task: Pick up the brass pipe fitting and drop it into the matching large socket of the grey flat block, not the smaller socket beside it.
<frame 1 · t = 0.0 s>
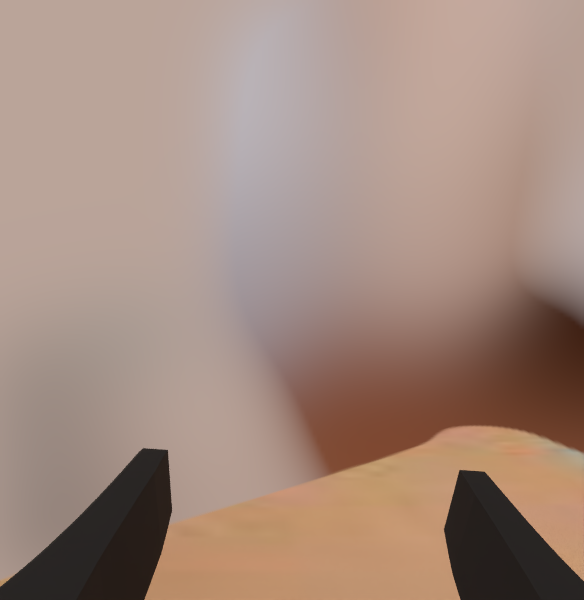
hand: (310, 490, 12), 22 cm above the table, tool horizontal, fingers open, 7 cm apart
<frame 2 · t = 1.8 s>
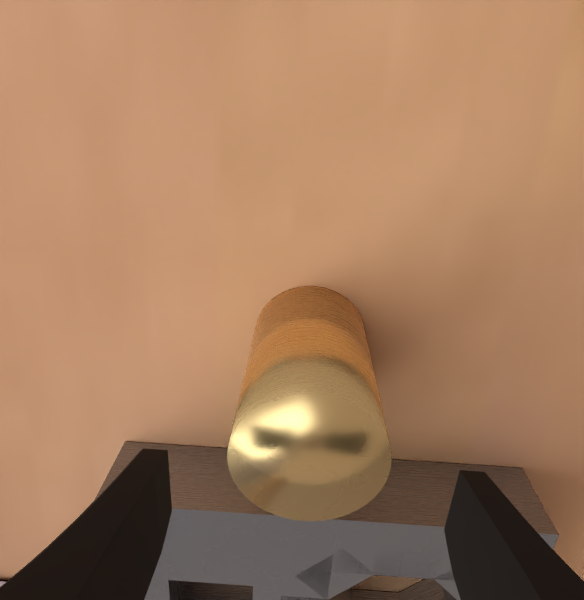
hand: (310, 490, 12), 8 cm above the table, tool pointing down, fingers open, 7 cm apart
grey flat block: (313, 546, 24), on the table
brass fitting: (309, 336, 19), on the table
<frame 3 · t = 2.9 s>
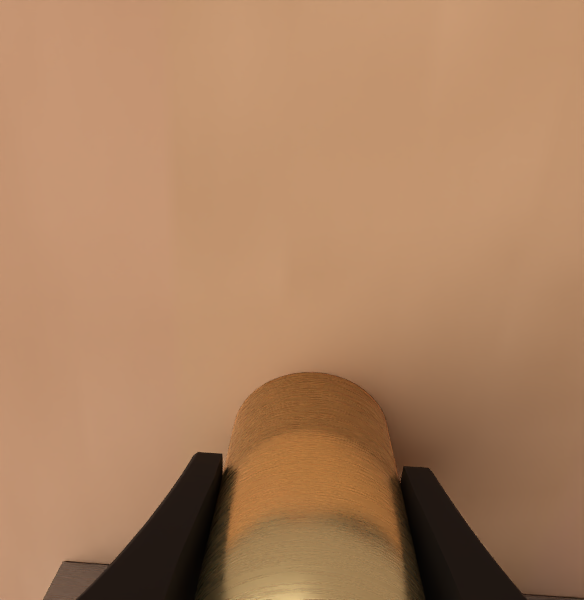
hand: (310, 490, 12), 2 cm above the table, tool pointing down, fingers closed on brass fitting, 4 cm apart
brass fitting: (310, 437, 14), on the table, touching gripper
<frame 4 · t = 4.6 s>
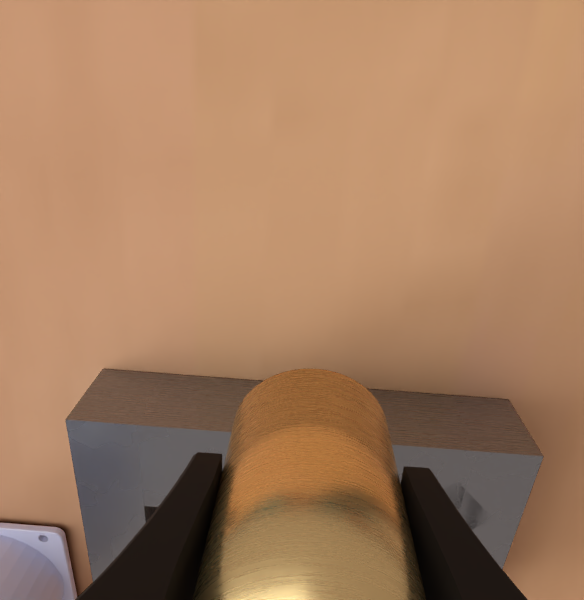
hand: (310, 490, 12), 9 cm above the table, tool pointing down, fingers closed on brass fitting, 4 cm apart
grey flat block: (295, 485, 24), on the table
brass fitting: (310, 434, 14), point 7 cm above the table, touching gripper
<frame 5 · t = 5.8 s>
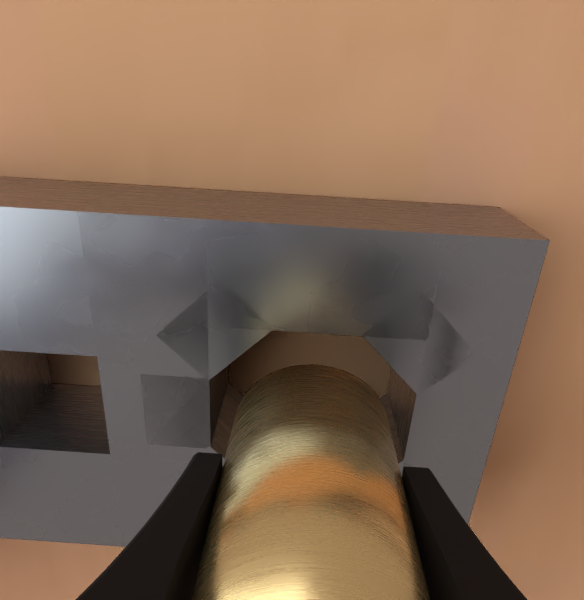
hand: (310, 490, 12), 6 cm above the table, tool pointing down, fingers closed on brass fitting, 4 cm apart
grey flat block: (214, 353, 18), on the table
brass fitting: (310, 431, 14), point 4 cm above the table, touching gripper
when the fingers open (5 cm above the table, at t = 6.5 s): brass fitting drops 3 cm, resting in grey flat block.
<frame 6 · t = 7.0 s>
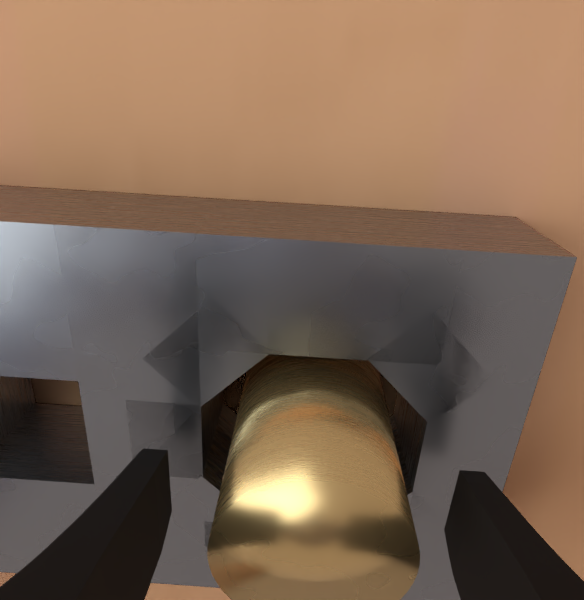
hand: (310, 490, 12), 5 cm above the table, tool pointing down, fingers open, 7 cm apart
grey flat block: (208, 372, 16), on the table
brass fitting: (312, 374, 16), resting in grey flat block
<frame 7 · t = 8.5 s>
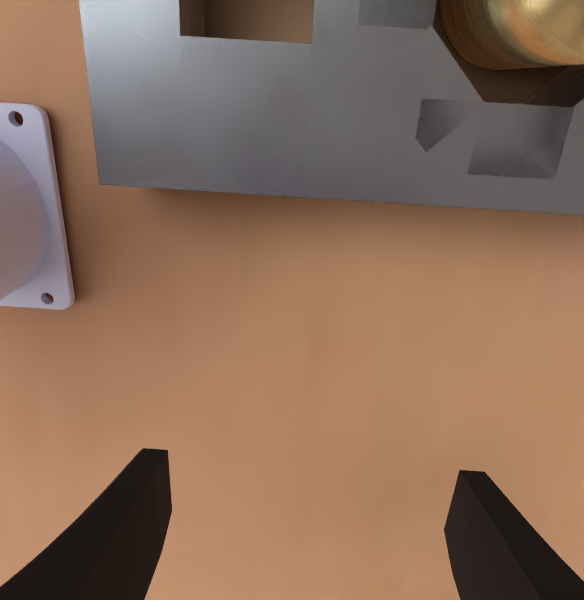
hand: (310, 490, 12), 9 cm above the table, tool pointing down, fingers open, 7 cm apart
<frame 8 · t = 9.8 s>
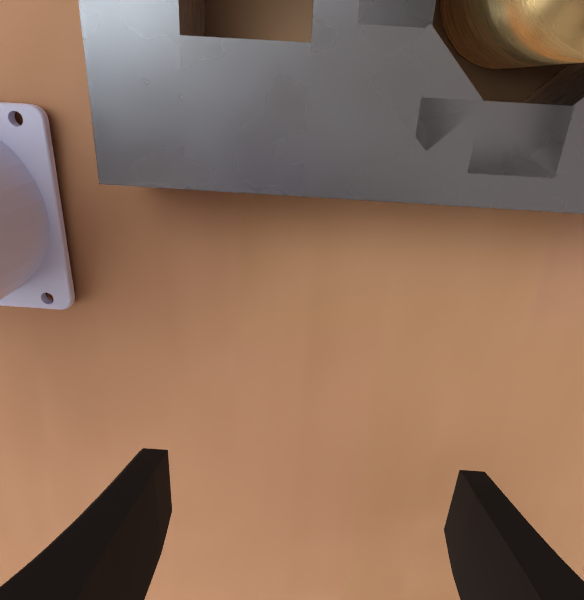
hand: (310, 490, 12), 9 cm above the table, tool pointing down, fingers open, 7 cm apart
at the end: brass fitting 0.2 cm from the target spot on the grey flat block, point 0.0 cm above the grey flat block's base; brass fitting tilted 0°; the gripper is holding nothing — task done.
